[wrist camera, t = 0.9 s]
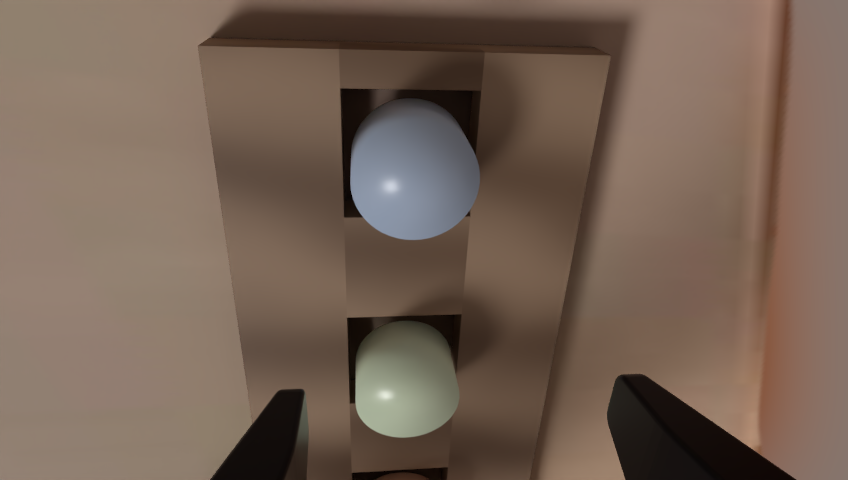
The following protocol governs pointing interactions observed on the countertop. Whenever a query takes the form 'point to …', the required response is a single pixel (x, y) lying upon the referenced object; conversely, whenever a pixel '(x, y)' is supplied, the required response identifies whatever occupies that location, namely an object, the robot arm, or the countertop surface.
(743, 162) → the countertop surface
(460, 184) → the slate button
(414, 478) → the terracotta button
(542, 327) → the button panel
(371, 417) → the sage button
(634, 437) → the robot arm
